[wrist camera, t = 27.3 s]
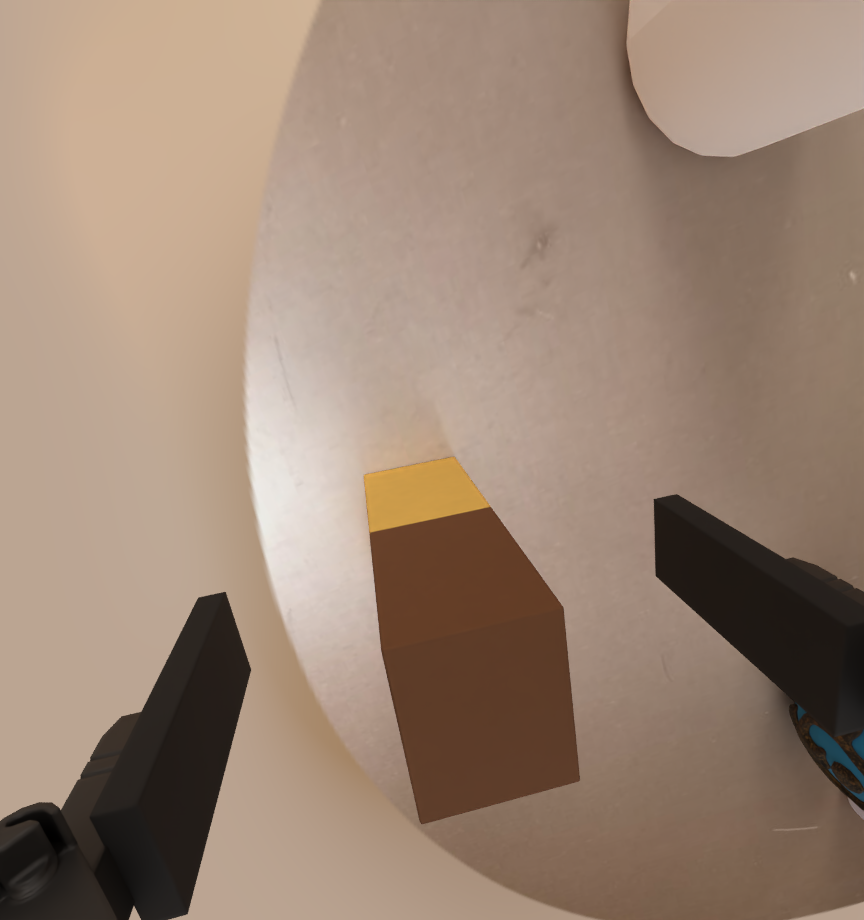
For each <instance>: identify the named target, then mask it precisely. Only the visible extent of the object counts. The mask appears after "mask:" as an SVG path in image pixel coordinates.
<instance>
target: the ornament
mask: <svg viewBox="0 0 864 920" xmlns="http://www.w3.org/2000/svg"><path fill="white" fill-rule="evenodd" d="M789 712H790V716H791V719H792V721H793V724H794V726H795V728H796V731H797V734H798V736H799V738H800V740H801V741H802V743H803V745H804V746H805V748H806V749H807V751H808V753H809V754H810V756H811V757H812V759H813V760H814V761H815V763H816V764H817V765H818V766H819V768H820V769H821V770H822V771H823V773H824V774H825V775H826V776H827V777H828V778H829V779H830V780H831V781H832V782H833V783H834V784H835V786H837V787H838V788H839V789H840V790H841V791H842V792H843V793H844V794H845V795H846V796H847V797H848V798H849V799H851V800H852V801H853V802H854V803H855V804H856V805H857V806H858V807H859V808H860V809H861V810H863V811H864V729H863V730H859V731H856V732H852V733H848V734H845V735H841V736H837V737H833V736H832V735H831V734H830V733H829V732H828V731H827V730H825V729H824V728H823V727H822V726H821V725H820V724H819V723H818V722H817V721H816V720H814V719H813V718H812V717H811V716H810V715H809V714H808V713H807V712H806V711H804V710H803V709H802V708H801V707H800V706H799V705H798V704H797V703H796V702H795V704H792V705H790V706H789Z"/></svg>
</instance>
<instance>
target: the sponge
mask: <svg viewBox="0 0 864 920" xmlns="http://www.w3.org/2000/svg"><path fill="white" fill-rule="evenodd" d="M364 484H365V494H366V503H367V513H368V523H369V533H370V543H371V553H372V563H373V573H374V582H375V592H376V602H377V612H378V622H379V632H380V642H381V651H382V656H383V660H384V664H385V669H386V673H387V678H388V682H389V687H390V691H391V696H392V700H393V704H394V709H395V713H396V718H397V722H398V727H399V731H400V735H401V740H402V744H403V749H404V753H405V758H406V762H407V766H408V771H409V775H410V780H411V784H412V789H413V793H414V798H415V802H416V806H417V811H418V815H419V820H420V823H421V824H425V823H429V822H432V821H436V820H440V819H443V818H447V817H451V816H454V815H458V814H462V813H465V812H469V811H473V810H476V809H480V808H483V807H487V806H491V805H494V804H498V803H502V802H505V801H509V800H513V799H516V798H520V797H524V796H527V795H531V794H535V793H538V792H542V791H545V790H549V789H553V788H556V787H560V786H564V785H567V784H571V783H575V782H578V781H579V780H580V776H579V765H578V755H577V745H576V734H575V724H574V713H573V703H572V693H571V682H570V672H569V661H568V651H567V641H566V630H565V620H564V609H563V606H562V605H561V603H560V602H559V601H558V599H557V598H556V596H555V595H554V594H553V592H552V591H551V590H550V588H549V587H548V585H547V584H546V583H545V581H544V580H543V579H542V577H541V576H540V574H539V573H538V572H537V570H536V569H535V567H534V566H533V565H532V563H531V562H530V561H529V559H528V558H527V556H526V555H525V554H524V552H523V551H522V549H521V548H520V547H519V545H518V544H517V543H516V541H515V540H514V538H513V537H512V536H511V534H510V533H509V531H508V530H507V529H506V527H505V526H504V525H503V523H502V522H501V520H500V519H499V518H498V516H497V515H496V514H495V512H494V511H493V509H492V508H491V507H490V505H489V504H488V502H487V501H486V500H485V498H484V497H483V496H482V494H481V493H480V491H479V490H478V489H477V487H476V486H475V484H474V483H473V482H472V480H471V479H470V478H469V476H468V475H467V473H466V472H465V471H464V469H463V468H462V467H461V465H460V464H459V462H458V461H457V460H456V458H455V457H450V458H445V459H440V460H435V461H430V462H425V463H420V464H415V465H410V466H405V467H400V468H395V469H390V470H385V471H380V472H375V473H370V474H365V475H364Z"/></svg>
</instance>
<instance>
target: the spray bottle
mask: <svg viewBox="0 0 864 920" xmlns="http://www.w3.org/2000/svg"><path fill="white" fill-rule="evenodd" d="M848 800H849V803H850V805H851V807H852V808H853V809H854V811H855V812H856V813H857V814H858V815H859V816H860V817H861V818H862V819H863V820H864V811H863V810H861V809H860V808H859V807H858V806H857V805H856V804H855V803H854V802H853V801H852V800H851V799H849V798H848Z"/></svg>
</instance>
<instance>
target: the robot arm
mask: <svg viewBox="0 0 864 920" xmlns="http://www.w3.org/2000/svg"><path fill="white" fill-rule="evenodd" d="M654 524H655V569H656V577H657V578H659V579H660V580H661V581H662V582H663V583H664V584H665V585H666V586H667V587H668V588H670V589H671V590H672V591H673V592H674V593H675V594H676V595H677V596H678V597H680V598H681V599H682V600H683V601H684V602H685V603H686V604H687V605H688V606H689V607H691V608H692V609H693V610H694V611H695V612H696V613H697V614H698V615H699V616H701V617H702V618H703V619H704V620H705V621H706V622H707V623H708V624H709V625H710V626H712V627H713V628H714V629H715V630H716V631H717V632H718V633H719V634H720V635H722V636H723V637H724V638H725V639H726V640H727V641H728V642H729V643H730V644H731V645H733V646H734V647H735V648H736V649H737V650H738V651H739V652H740V653H741V654H743V655H744V656H745V657H746V658H747V659H748V660H749V661H750V662H751V663H752V664H754V665H755V666H756V667H757V668H758V669H759V670H760V671H761V672H762V673H764V674H765V675H766V676H767V677H768V678H769V679H770V680H771V681H772V682H774V683H775V684H776V685H777V686H778V687H779V688H780V689H781V690H782V691H783V692H785V693H786V694H787V695H788V696H789V697H790V698H791V699H792V700H793V701H795V702H796V703H797V704H798V705H799V706H800V707H801V708H802V709H803V710H804V711H806V712H807V713H808V714H809V715H810V716H811V717H812V718H813V719H814V720H816V721H817V722H818V723H819V724H820V725H821V726H822V727H823V728H824V729H825V730H827V731H828V732H829V733H830V734H831V735H832V736H833V737H837V736H841V735H845V734H848V733H852V732H856V731H859V730H863V729H864V592H863V591H861V590H859V589H857V588H856V589H854V588H853V586H852V585H850V584H849V583H847V582H845V581H843V580H842V579H837V577H836V576H835V575H833V574H831V573H829V572H828V571H826V570H824V569H822V568H821V567H819V566H817V565H814V564H811V563H808V562H805V561H802V560H799V559H796V558H789V559H784V558H783V557H781V556H779V555H778V554H776V553H774V552H773V551H771V550H769V549H768V548H766V547H764V546H763V545H761V544H759V543H758V542H756V541H754V540H753V539H751V538H749V537H748V536H746V535H744V534H743V533H741V532H739V531H738V530H736V529H734V528H733V527H731V526H729V525H728V524H726V523H724V522H723V521H721V520H719V519H718V518H716V517H714V516H712V515H711V514H709V513H707V512H706V511H704V510H702V509H701V508H699V507H697V506H696V505H694V504H692V503H691V502H689V501H687V500H686V499H684V498H682V497H681V496H679V495H677V494H676V495H671V496H666V497H662V498H657V499H654ZM250 672H251V668H250V665H249V662H248V659H247V656H246V653H245V650H244V647H243V643H242V640H241V638H240V635H239V631H238V628H237V625H236V623H235V619H234V616H233V613H232V610H231V607H230V604H229V601H228V598H227V595H226V592H223V593H218V594H214V595H209V596H204V597H199V598H198V599H197V601H196V603H195V605H194V607H193V609H192V612H191V614H190V615H189V617H188V619H187V621H186V624H185V625H184V627H183V630H182V631H181V633H180V636H179V638H178V639H177V641H176V644H175V646H174V648H173V650H172V652H171V654H170V656H169V658H168V660H167V662H166V664H165V666H164V668H163V670H162V672H161V674H160V676H159V678H158V680H157V682H156V684H155V686H154V688H153V690H152V692H151V694H150V696H149V698H148V700H147V702H146V704H145V706H144V708H143V710H142V712H139V713H135V714H130V715H126V716H122V717H121V718H120V719H119V720H118V721H117V722H116V723H115V724H114V725H113V726H112V727H111V728H110V729H109V730H108V731H107V732H106V733H105V734H104V735H103V736H102V738H101V740H100V742H99V743H98V745H97V747H96V748H95V750H94V752H93V754H92V756H91V757H90V759H91V760H90V762H88V763H87V765H86V766H85V768H84V770H83V772H82V774H81V779H80V780H78V781H77V782H76V784H75V786H74V788H73V790H72V791H71V793H70V795H69V797H68V799H67V800H66V802H65V804H64V806H63V808H62V809H61V810H60V808H58V807H57V806H56V805H54V804H53V803H42V802H41V803H40V802H39V803H36V804H33V805H30V806H27V807H24V808H21V809H19V810H18V811H16V812H14V813H12V814H11V815H9V816H7V817H5V818H4V819H2V820H1V821H0V920H129V917H130V914H131V912H132V909H133V906H135V908H136V910H137V912H138V914H139V916H140V918H141V920H168V919H172V918H176V917H179V916H183V915H186V914H188V910H189V906H190V903H191V899H192V895H193V891H194V887H195V884H196V880H197V876H198V872H199V868H200V864H201V860H202V857H203V852H204V849H205V845H206V841H207V837H208V833H209V830H210V826H211V822H212V818H213V814H214V810H215V807H216V803H217V798H218V795H219V791H220V787H221V784H222V780H223V776H224V772H225V768H226V764H227V760H228V757H229V752H230V749H231V745H232V741H233V737H234V734H235V729H236V726H237V722H238V718H239V714H240V710H241V707H242V703H243V699H244V695H245V691H246V687H247V684H248V680H249V676H250Z"/></svg>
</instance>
